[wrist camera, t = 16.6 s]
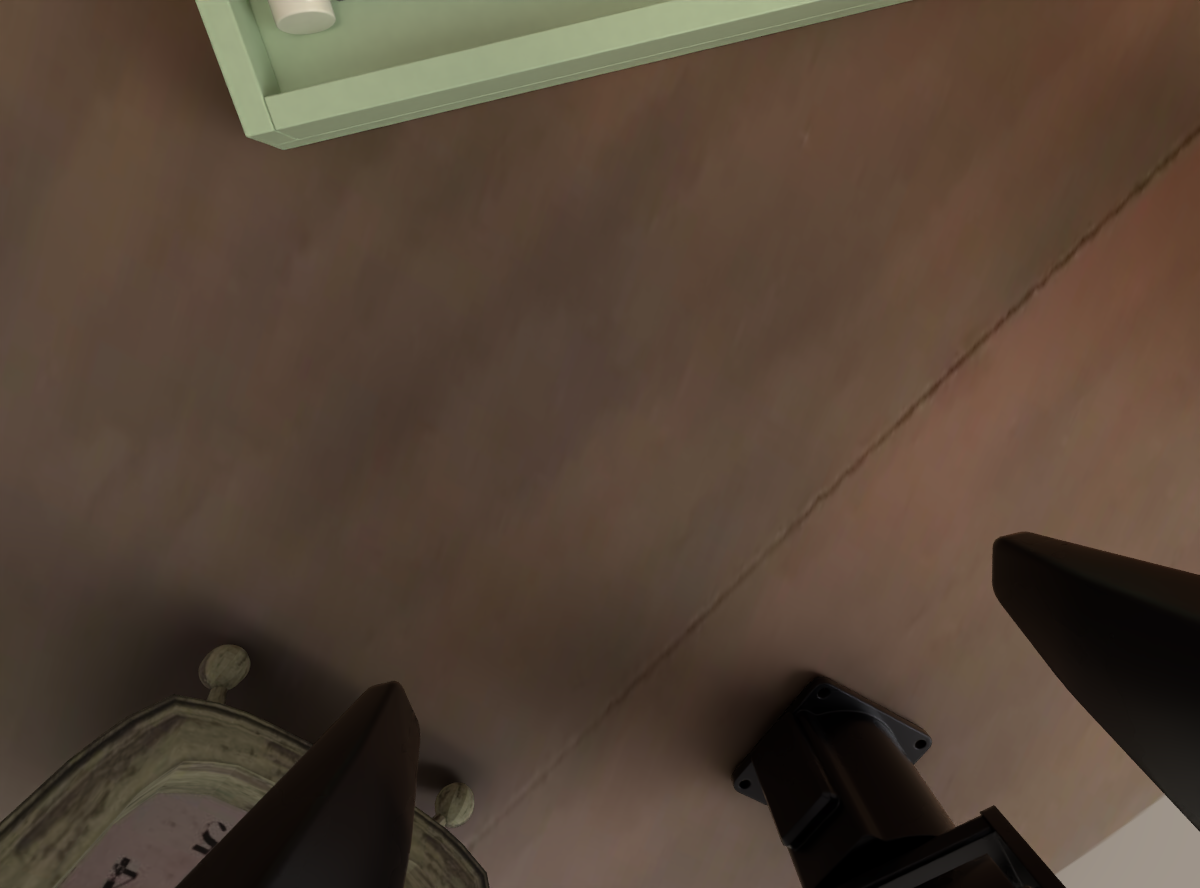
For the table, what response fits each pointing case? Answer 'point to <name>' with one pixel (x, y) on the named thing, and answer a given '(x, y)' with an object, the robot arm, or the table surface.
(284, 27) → the chalk
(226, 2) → the tray
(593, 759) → the table surface
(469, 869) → the tabletop clock
